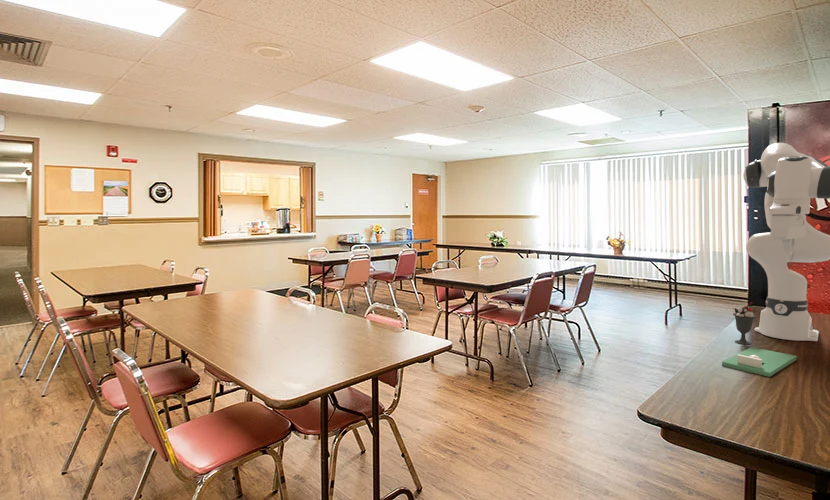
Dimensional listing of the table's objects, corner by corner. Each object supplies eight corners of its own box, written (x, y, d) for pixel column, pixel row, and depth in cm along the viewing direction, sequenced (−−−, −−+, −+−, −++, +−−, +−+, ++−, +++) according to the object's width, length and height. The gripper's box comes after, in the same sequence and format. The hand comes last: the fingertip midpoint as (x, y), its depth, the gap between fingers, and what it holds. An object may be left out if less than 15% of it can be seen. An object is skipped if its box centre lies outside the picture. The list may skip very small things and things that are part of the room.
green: (751, 350, 151) (751, 340, 151) (796, 359, 141) (797, 348, 141) (722, 365, 137) (722, 354, 137) (769, 376, 127) (770, 364, 127)
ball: (750, 357, 139) (748, 351, 137) (763, 360, 136) (760, 354, 135) (747, 366, 138) (745, 360, 136) (760, 368, 135) (757, 363, 133)
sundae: (758, 345, 156) (760, 303, 154) (737, 345, 157) (739, 303, 156) (748, 340, 162) (750, 300, 161) (728, 339, 163) (729, 299, 162)
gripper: (788, 208, 147) (786, 250, 148) (767, 209, 135) (764, 254, 136) (813, 208, 142) (811, 251, 143) (793, 208, 130) (790, 255, 131)
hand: (788, 252), depth 139 cm, fingers closed
